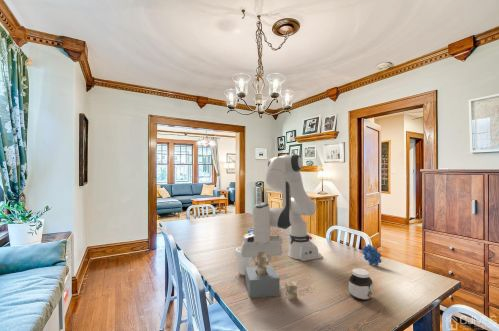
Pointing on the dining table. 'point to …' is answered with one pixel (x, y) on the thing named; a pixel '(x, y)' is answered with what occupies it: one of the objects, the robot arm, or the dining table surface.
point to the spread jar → (360, 285)
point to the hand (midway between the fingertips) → (261, 264)
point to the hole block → (262, 282)
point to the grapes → (371, 255)
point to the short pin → (291, 290)
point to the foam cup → (242, 261)
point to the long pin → (261, 263)
